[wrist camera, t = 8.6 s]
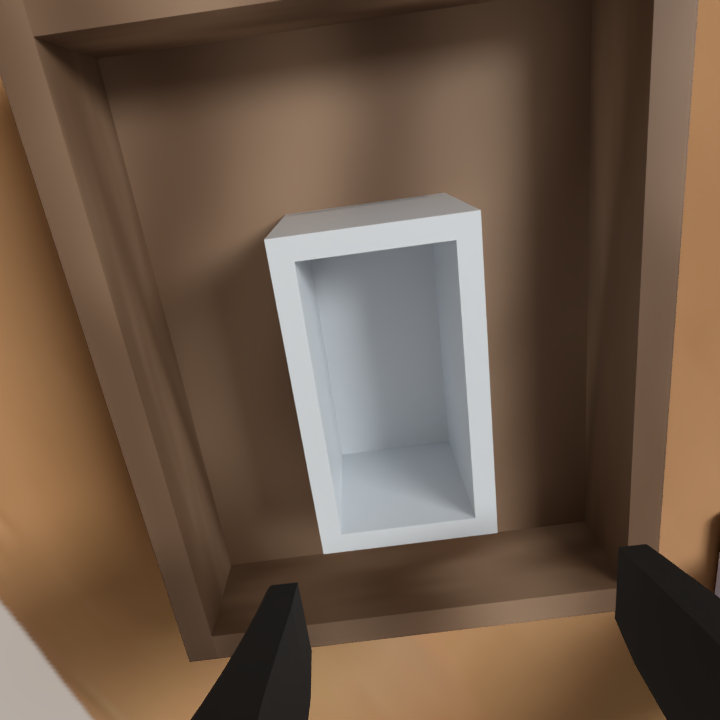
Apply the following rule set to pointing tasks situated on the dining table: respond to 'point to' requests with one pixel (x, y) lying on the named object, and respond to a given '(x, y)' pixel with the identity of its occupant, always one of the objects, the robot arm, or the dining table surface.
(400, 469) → the box
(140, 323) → the walnut crate
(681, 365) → the dining table surface
